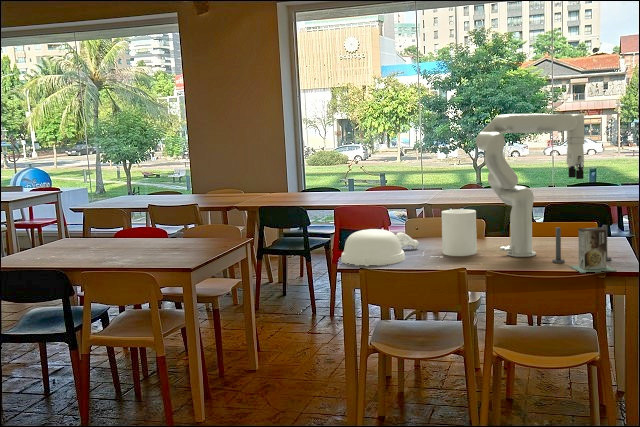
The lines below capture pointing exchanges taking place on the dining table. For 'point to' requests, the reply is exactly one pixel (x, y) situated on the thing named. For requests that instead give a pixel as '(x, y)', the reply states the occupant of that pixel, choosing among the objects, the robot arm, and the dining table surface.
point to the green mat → (592, 269)
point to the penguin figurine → (407, 241)
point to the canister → (459, 232)
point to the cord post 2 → (606, 242)
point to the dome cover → (372, 248)
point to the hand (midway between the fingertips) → (575, 178)
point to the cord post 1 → (558, 247)
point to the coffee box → (592, 248)
